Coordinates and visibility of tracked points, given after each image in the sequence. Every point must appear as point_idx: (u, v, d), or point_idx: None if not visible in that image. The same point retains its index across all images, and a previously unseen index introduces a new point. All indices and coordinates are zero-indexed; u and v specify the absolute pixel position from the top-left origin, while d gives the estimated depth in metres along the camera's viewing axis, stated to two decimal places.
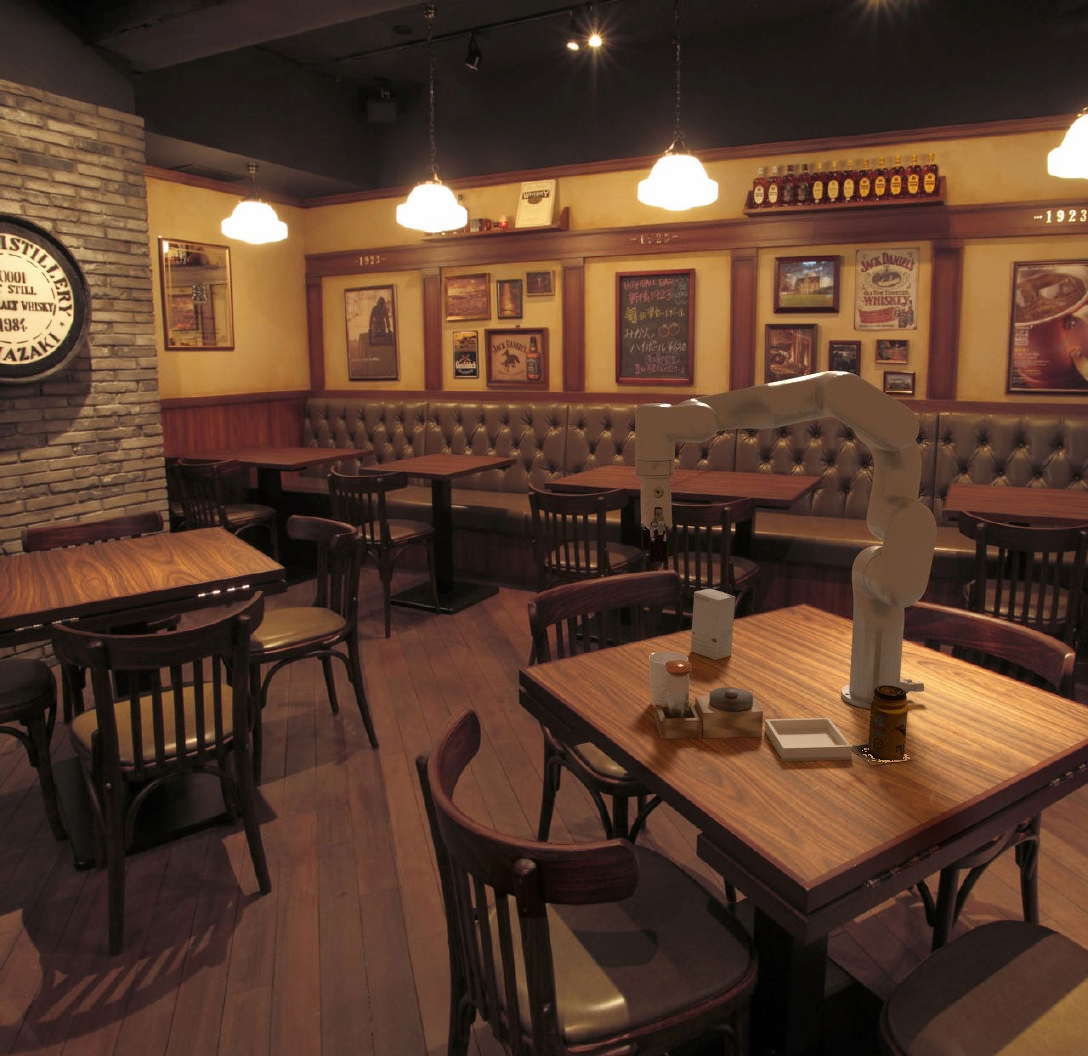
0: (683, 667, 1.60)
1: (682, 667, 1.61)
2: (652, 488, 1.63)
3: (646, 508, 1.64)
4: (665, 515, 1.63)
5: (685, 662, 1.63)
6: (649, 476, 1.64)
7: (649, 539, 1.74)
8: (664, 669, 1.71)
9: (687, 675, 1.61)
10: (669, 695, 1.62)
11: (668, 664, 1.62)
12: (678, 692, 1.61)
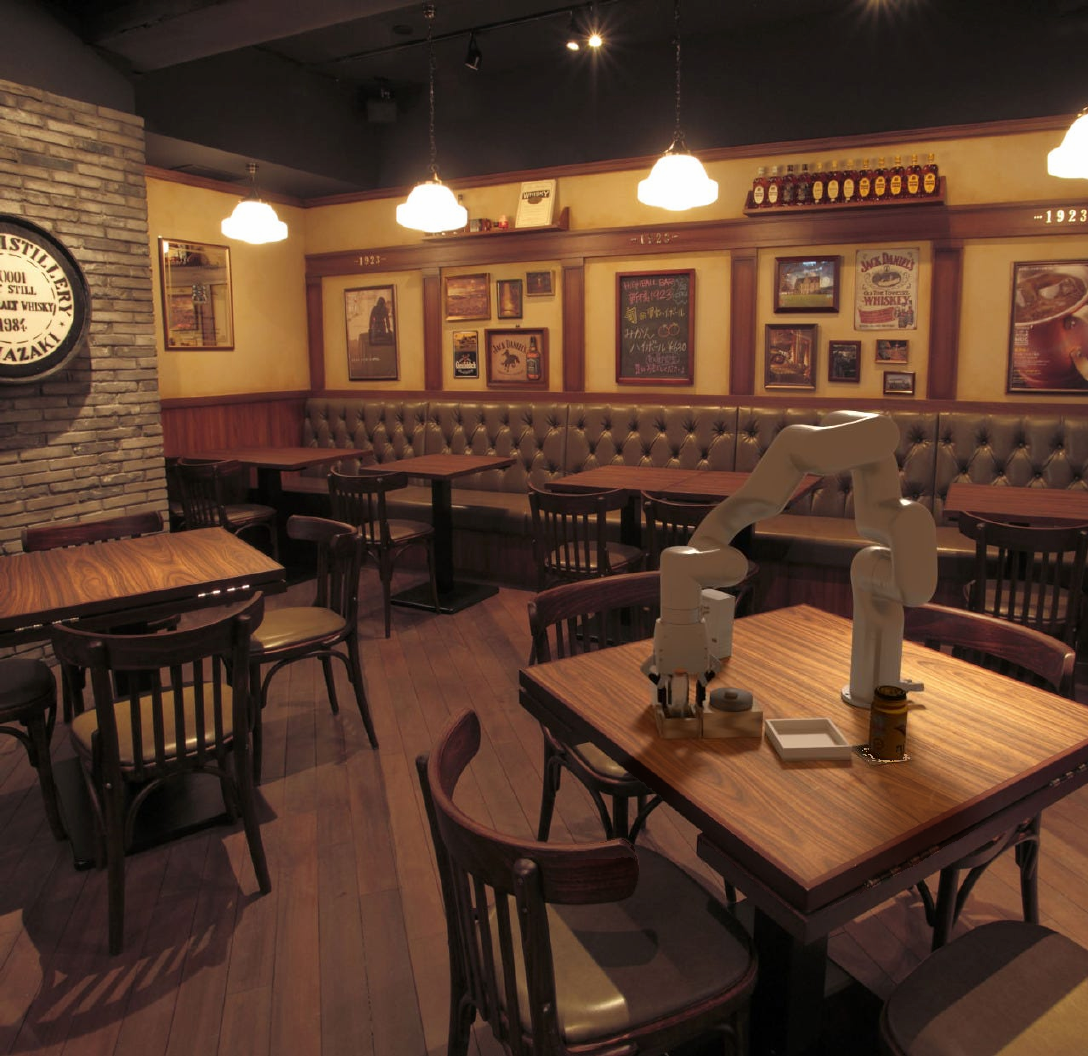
0: None
1: None
2: None
3: (705, 652, 1.59)
4: None
5: None
6: (701, 620, 1.59)
7: None
8: None
9: (687, 675, 1.61)
10: (669, 695, 1.62)
11: None
12: (678, 692, 1.61)
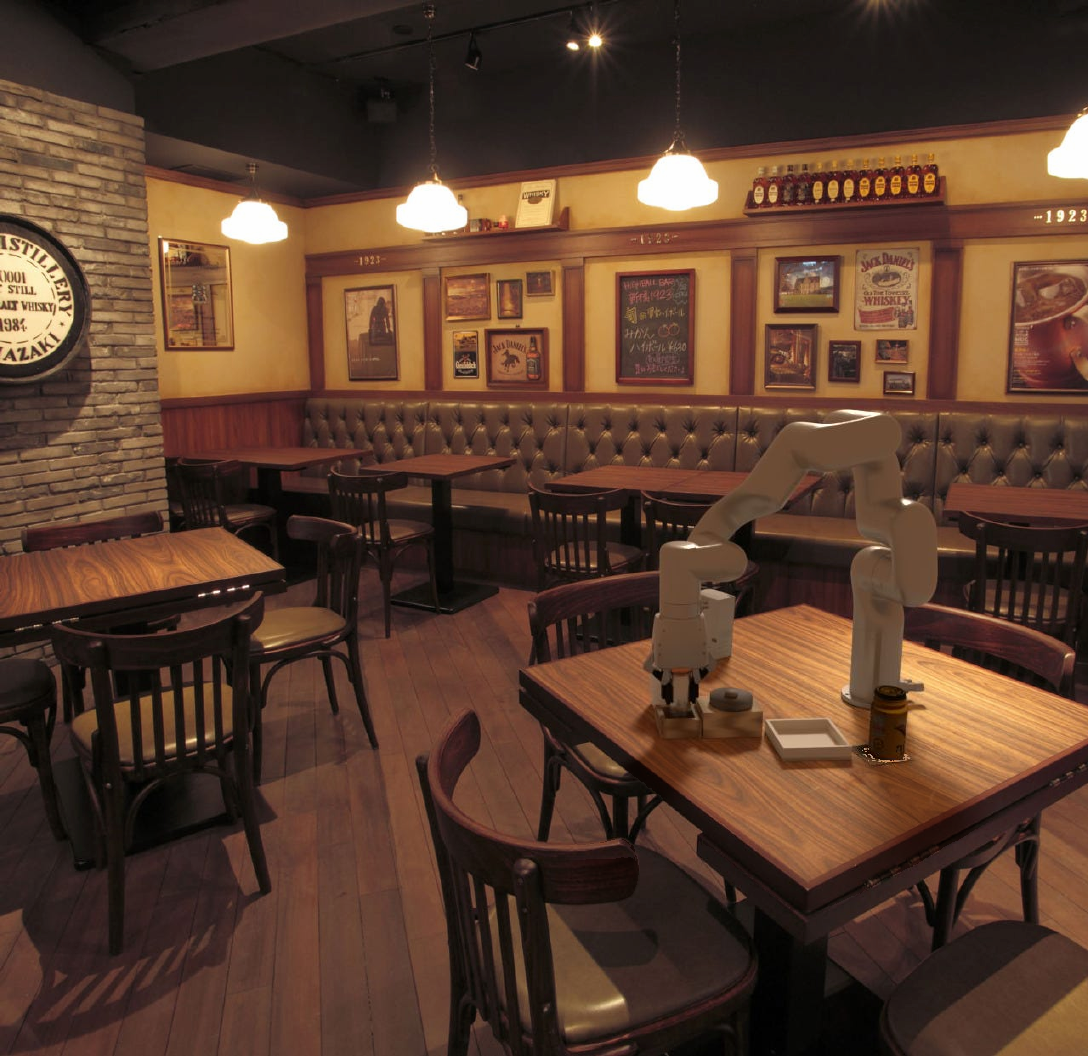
0: None
1: None
2: None
3: (704, 647, 1.59)
4: None
5: None
6: (700, 615, 1.59)
7: None
8: None
9: (688, 675, 1.61)
10: (671, 695, 1.62)
11: None
12: (680, 692, 1.61)
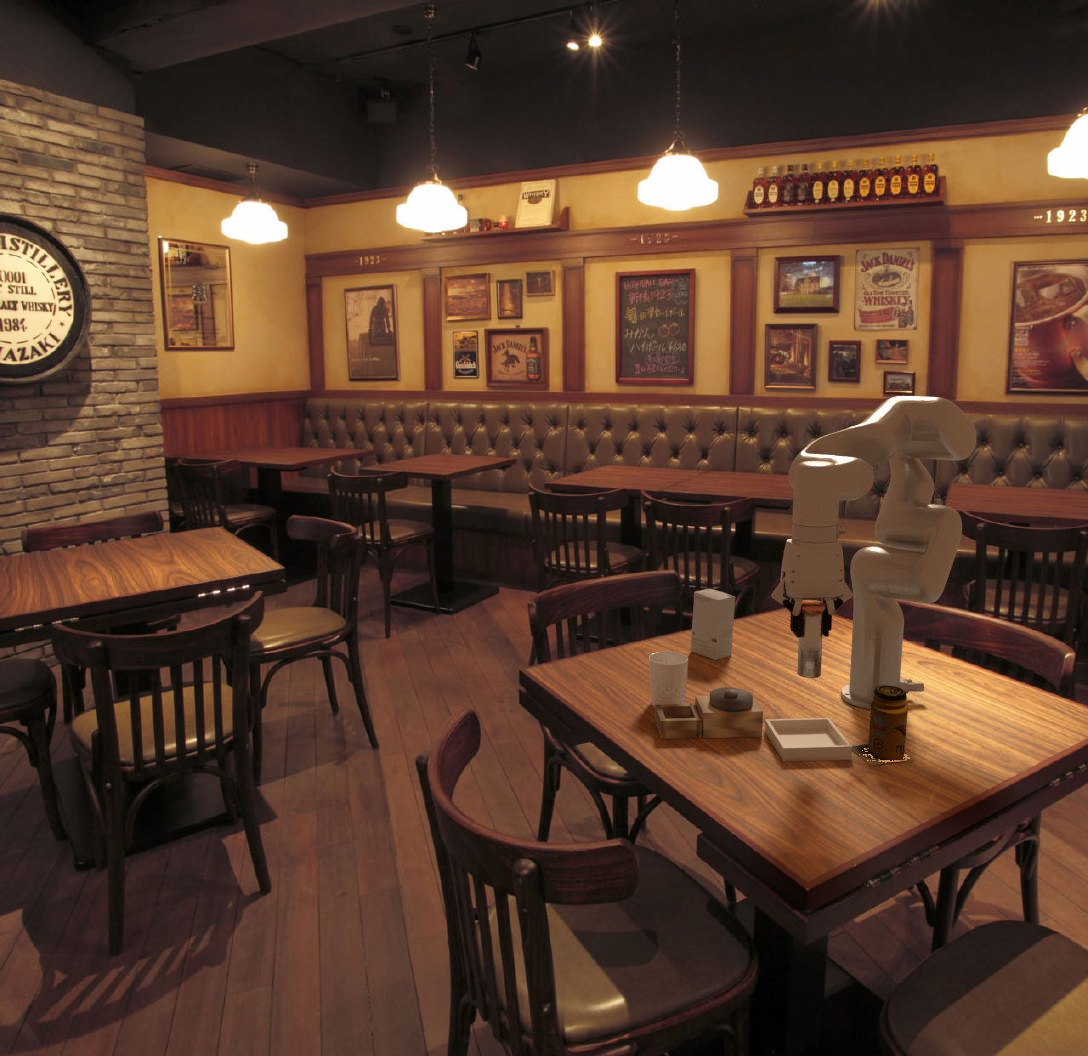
0: (818, 606, 1.50)
1: (816, 605, 1.51)
2: (842, 552, 1.49)
3: (840, 575, 1.49)
4: None
5: (818, 601, 1.53)
6: (837, 540, 1.48)
7: None
8: (664, 669, 1.71)
9: (822, 614, 1.51)
10: (802, 637, 1.52)
11: None
12: (812, 633, 1.51)
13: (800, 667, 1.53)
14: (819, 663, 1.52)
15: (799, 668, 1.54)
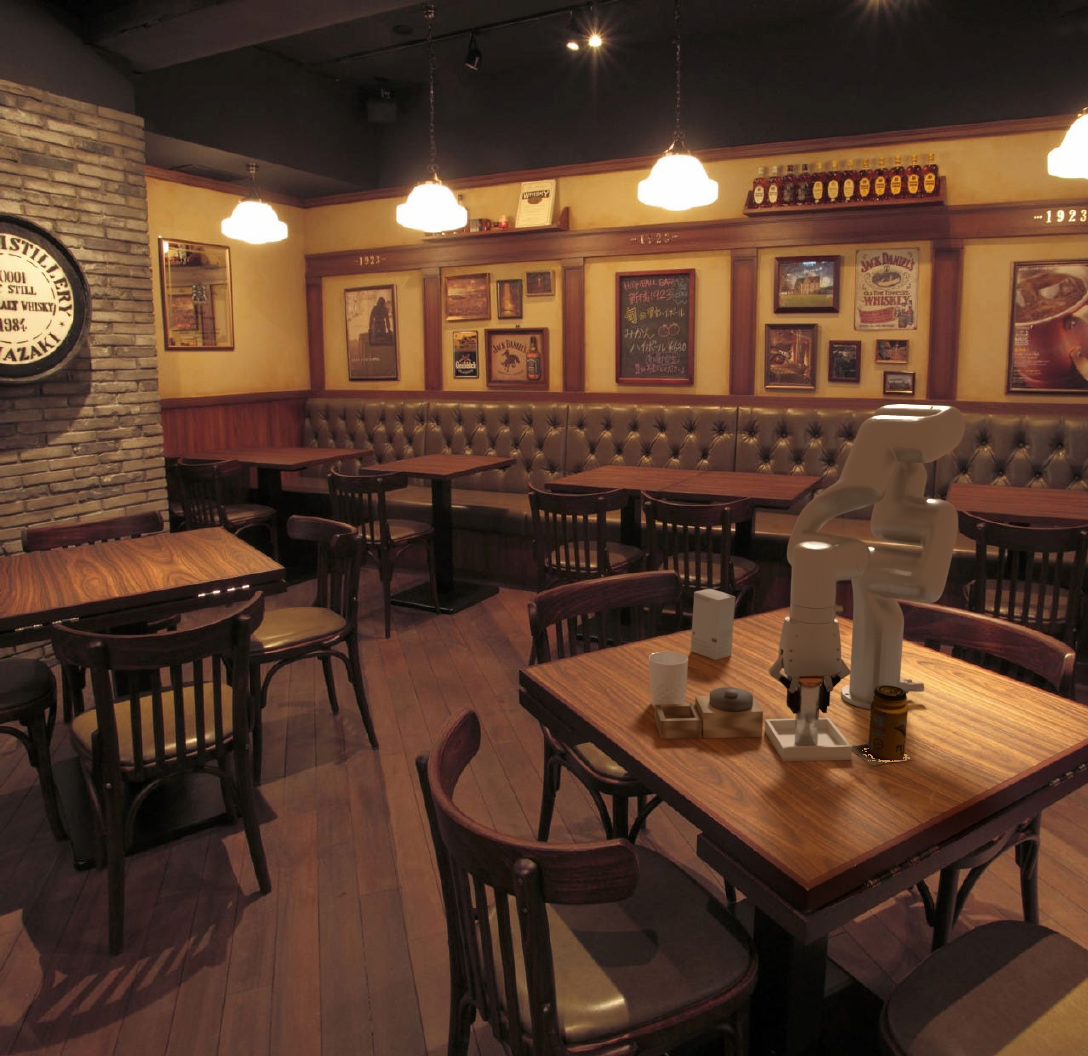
0: (815, 678, 1.52)
1: (813, 678, 1.53)
2: None
3: (837, 654, 1.51)
4: None
5: None
6: (834, 620, 1.51)
7: None
8: (664, 669, 1.71)
9: (819, 686, 1.53)
10: (799, 708, 1.54)
11: None
12: (809, 705, 1.53)
13: (797, 737, 1.56)
14: (816, 733, 1.55)
15: (796, 738, 1.56)
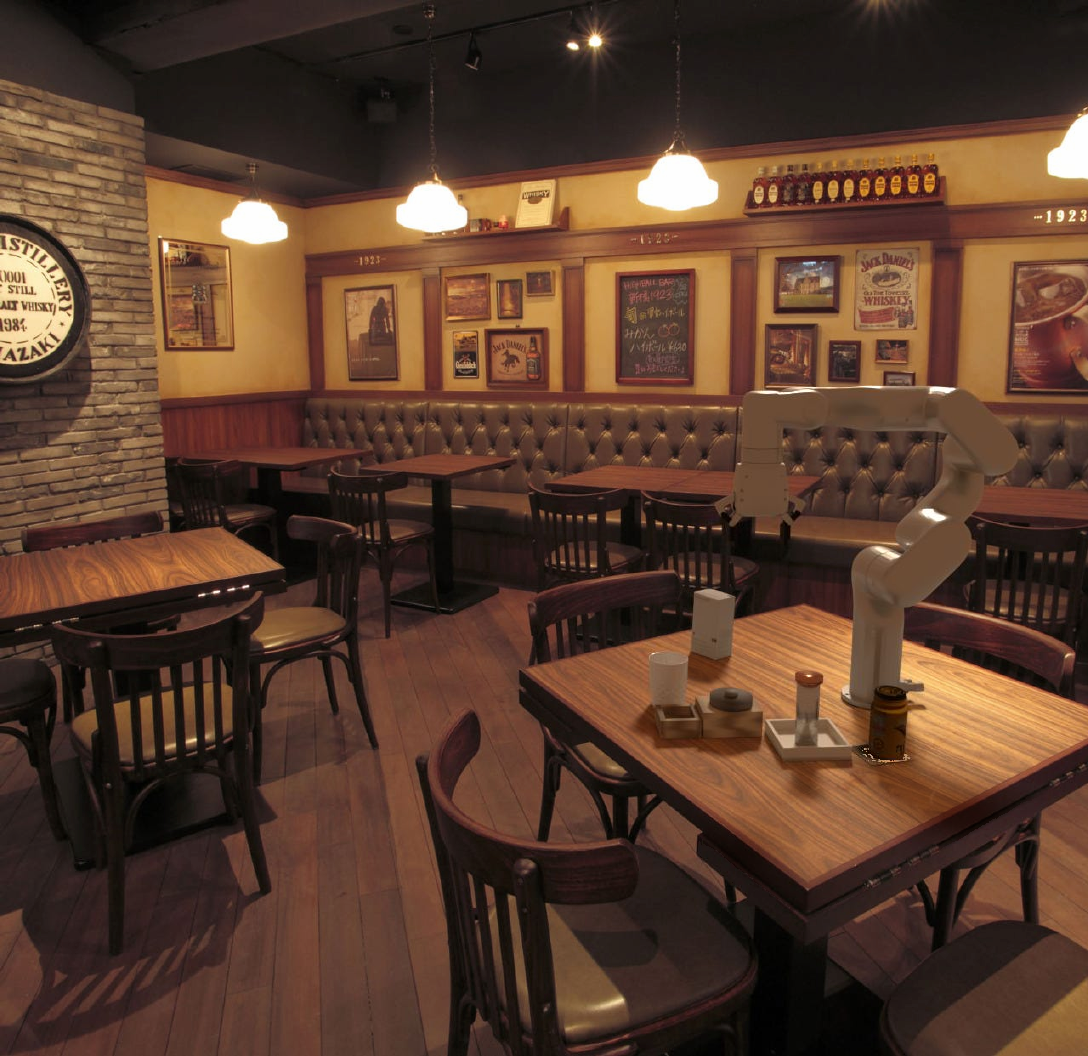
0: (815, 678, 1.52)
1: (813, 678, 1.53)
2: (786, 473, 1.64)
3: (785, 494, 1.64)
4: None
5: (815, 672, 1.55)
6: (781, 462, 1.63)
7: None
8: (664, 669, 1.71)
9: (819, 686, 1.53)
10: (799, 708, 1.54)
11: (798, 674, 1.54)
12: (809, 705, 1.53)
13: (797, 737, 1.56)
14: (816, 733, 1.55)
15: (796, 738, 1.56)
